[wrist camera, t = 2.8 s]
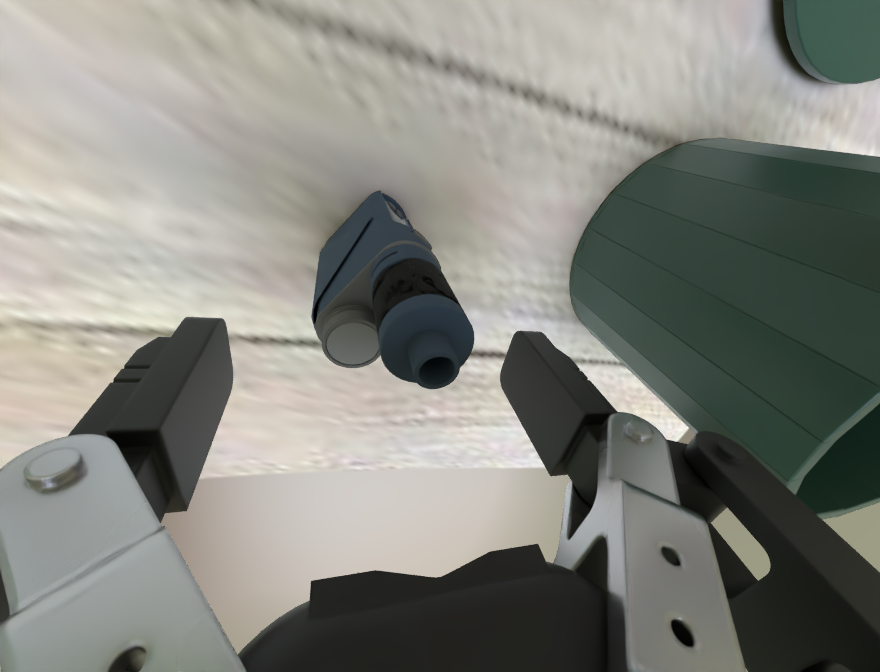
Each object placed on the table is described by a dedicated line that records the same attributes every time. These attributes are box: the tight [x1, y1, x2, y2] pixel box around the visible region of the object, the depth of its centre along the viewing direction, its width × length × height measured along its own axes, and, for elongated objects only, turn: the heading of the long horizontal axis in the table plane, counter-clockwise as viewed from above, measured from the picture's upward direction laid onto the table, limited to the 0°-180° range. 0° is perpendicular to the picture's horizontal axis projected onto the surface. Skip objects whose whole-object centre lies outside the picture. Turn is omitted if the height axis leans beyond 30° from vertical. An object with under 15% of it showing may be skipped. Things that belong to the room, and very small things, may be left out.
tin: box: [570, 138, 880, 519], centre depth 17 cm, size 13×13×14 cm
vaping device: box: [312, 191, 474, 389], centre depth 13 cm, size 3×5×12 cm, turn 131°
